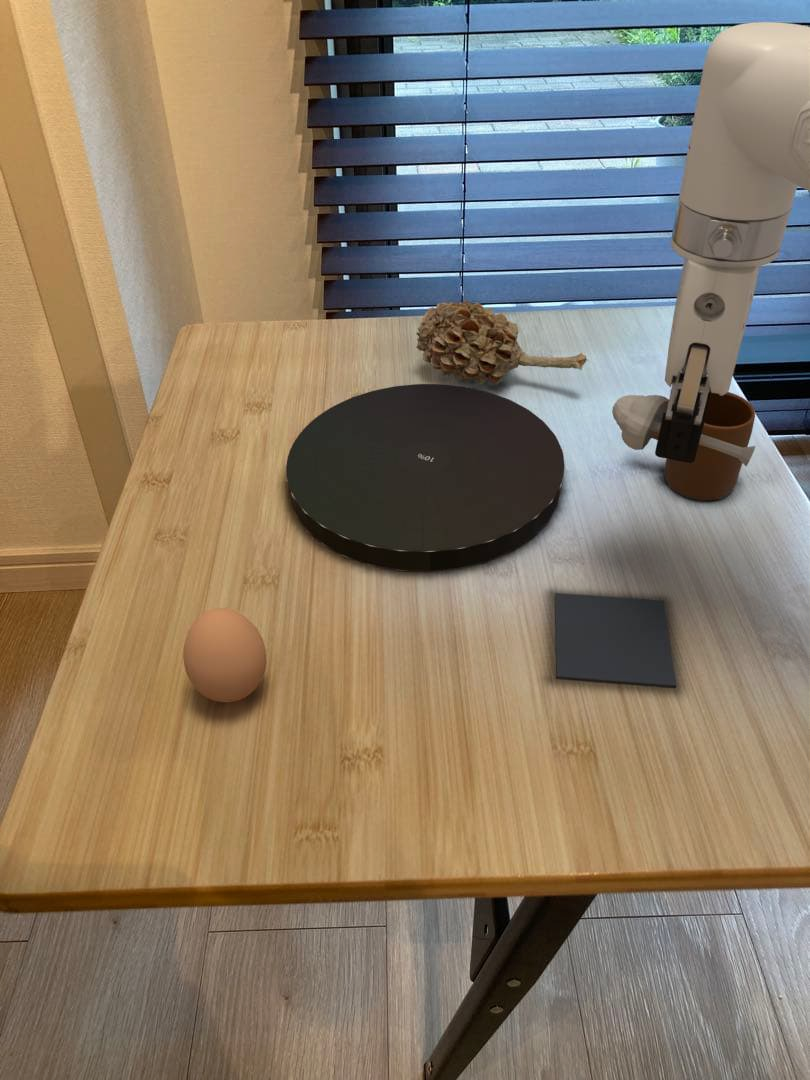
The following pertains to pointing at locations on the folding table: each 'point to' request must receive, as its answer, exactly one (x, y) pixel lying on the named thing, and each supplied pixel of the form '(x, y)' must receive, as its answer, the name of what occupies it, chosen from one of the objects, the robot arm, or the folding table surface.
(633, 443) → the mushroom
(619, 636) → the coaster
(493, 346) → the pine cone
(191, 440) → the folding table surface
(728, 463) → the mug
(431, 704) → the folding table surface
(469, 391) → the disc
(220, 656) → the egg
